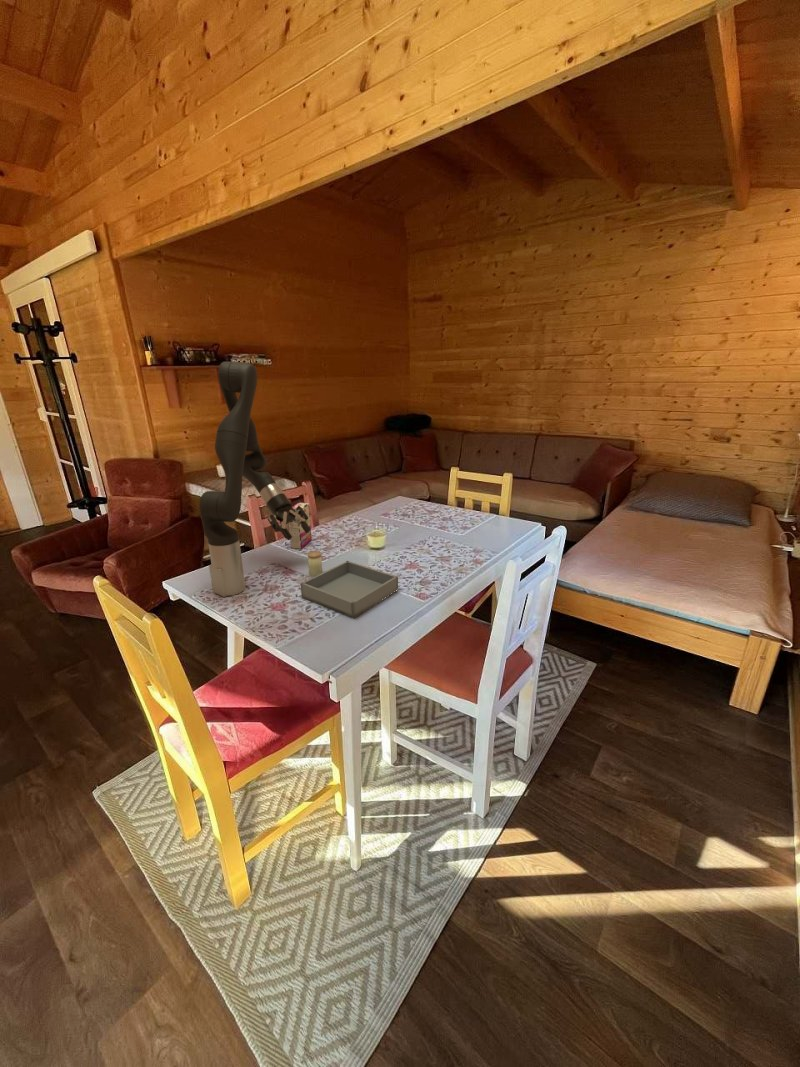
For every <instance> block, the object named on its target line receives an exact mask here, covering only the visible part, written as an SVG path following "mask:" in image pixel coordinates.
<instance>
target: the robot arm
mask: <svg viewBox="0 0 800 1067" xmlns="http://www.w3.org/2000/svg"><path fill="white" fill-rule="evenodd" d="M217 374H218V375H217V376H218V383H219V386H220V390H221V392H222V395H223V398H224V402H225V404H226V407H227V410H228V411H229V412H228V413H227V415H226V416H225V417H224V418H223V419H222V420H221V422H219V425H218V426H217V429H216V434H215V435H216V436H215V442H214V451H215V453H216V456H217V458H218V461H219V463H220V465H221V467H222V469H223V473H224V477H225V487H224V491H221V490H219V491H218V490H207V491H204V493H202V494H201V496H200V499H199V505H198V506H199V514H200V518H201V523H202V528H203V533H204V536H205V537H206V539H207V542H208V543H207V544H208V550H209V551H208V552H209V557H210V563H211V564H210V565H208V569H209V574H210V575H209V576H210V582H211V587H212V592H213V593H214V594H216V595H218V596H221V597H222V598H225V597H228V596H235V595H237V594H240V593H242V592H244V591H245V590H246V580H245V573H244V564H243V560H242V551H241V544H240V543H241V542H240V537H239V536H240V535H239V531H238V530H237V529H236V528H233V527H232V526H230V525H228V524H227V522H228V523H232V522H235V521H236V520H237V519H238V518H239V516H240V513H241V507H242V495H243V494H242V493H243V492H242V491H243V478H244V479H245V478H246V480H247V481H248V482H250V483H251V484H252V485H253V486H254V488H255V489H256V490H257V492H258V494H259V495H260V497H261V499H262V501H263V502H264V504H265V505H266V507H267V508H268V510H269V511H270V512H271V514H270V515H269V516H268V517H267V520H268V522H269V524H270V526H271V528H272V529H273V531H274V533H279V532H280V533H281V534H282V535H283V537H284V539H286V540H287V541H290V539H291V538H292V536H291V534H290V532H289V529H288V528H286V525H287V524H288V525H289V523H290V522H295V523H299V524H300V525H301V527H302V528H303V530H304V531H305V533H309V531H310V527H309V526H308V524H307V523H306V521H307V519H308V516H307V515H306V513H305V512H304V511H303V509H302V508H301V507H300V506H298V507H297V508H295V509H294V508H292V507H293V506H292V503H291V501H290V500H289V498H288V497H287V495H286V494H285V492H284V491H283V490H282V488H281V487H280V486H279V485H278V483H277V482H276V481H275V479H274V478H273V476H272V474H270V472H267V471H262V470H264V469H265V468H266V465H267V460H266V456H264V454H263V451H262V449H261V447H260V444H259V441H258V434H257V433H258V432H257V428H256V425H255V423H254V421H253V419H252V417H251V414H252V408H253V404H254V401H255V400H254V399H255V396H256V395H255V394H256V390H257V386H258V371H257V368H256V366H255V365H254V364H252V363H249V362H248V363H247V362H239V361H222V362H221V363H220V364H219V366H218V370H217ZM237 393H239V396H237ZM246 452H248V453H246ZM259 471H261V472H259ZM295 512H296V513H295ZM303 516H304V517H303ZM295 517H297V518H296V519H295ZM300 520H301V521H300ZM278 521H279V522H278Z"/></svg>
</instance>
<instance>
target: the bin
mask: <svg viewBox="0 0 800 1067" xmlns="http://www.w3.org/2000/svg"><path fill="white" fill-rule="evenodd" d="M397 589H398V590H399V577H398V575H397V576H396V575H394V574H390V573H388V572H384V571H381V570H378V569H375V568H372V567H367V566H366V565H362V564H360V563H356V562H353V561H349V560H346V561H345V562H342V563H340V564H338V565H336V566H333V567H331V568H330V569H327V570H326V571H322V573H321V574H319V575H317V576H315V577H311V578H309V579H306V580H305V581H303V582H301V583H300V593H301V598H302V599H305V600H307V601H309V602H312V603H315V604H317V605H319V606H321V607H324V608H326V609H329V610H331V611H334V612H336V613H339V614H341V615H343V616H344V615H345V616H346V617H349V618H351V619H355V618H357V617H359V616H360V615H362V614H364V613H365V612H366V610H367V611H368V610H370V609H371V608H373V607H374V606H376V605H377V604H376V603H378V602H379V601H381V600H382V599H384V598H385V597H387V596H388V595H390V594H391V593H393V592H394V591H396V590H397ZM396 592H397V591H396ZM393 594H394V593H393ZM390 596H391V595H390ZM387 598H388V597H387ZM385 599H386V598H385ZM385 599H384V600H385ZM382 601H383V600H382ZM382 601H381V602H382ZM379 603H380V602H379ZM379 603H378V604H379ZM375 604H376V605H375ZM372 606H373V607H372ZM369 608H370V609H369Z"/></svg>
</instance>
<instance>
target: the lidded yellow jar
mask: <svg viewBox="0 0 800 1067" xmlns="http://www.w3.org/2000/svg"><path fill="white" fill-rule="evenodd" d="M307 561H308V562H307V564H308V574H309V577H311V578H313V577H315V576H317V575H319V574H321V573H323V561H322V551H321V550H320V551H319V550H312V551H307Z"/></svg>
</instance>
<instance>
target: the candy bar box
mask: <svg viewBox="0 0 800 1067" xmlns="http://www.w3.org/2000/svg"><path fill="white" fill-rule="evenodd" d="M298 506H300V507H301V508H302V509H303V511H304V512H305V513H306V515H307V516H308V519H307V521H306V523H307V524H308V526H309V527H310V531H309V533H305V531H304V530H303V528H302V527H301V525H300V524H299V523H295V522H290V523H288V531H289V533H290V534H291V536H292V538H291V539H290V540H289V541H290V548H291V549H294V550H295V549H296V550H302V549H304V548H305V547H306V546H307V545H308V544H309V543H310V542H311V541H312V540H313V537H312V528H311V516H310V515H311V514H310V503H308V502H307V503H306V502H297V503H296V504H294V505H293V506H291V507H292V508H294V509H295V508H297V507H298ZM295 513H296V512H295ZM303 517H304V516H303ZM296 518H297V517H295V519H296ZM300 521H301V520H300Z"/></svg>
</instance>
